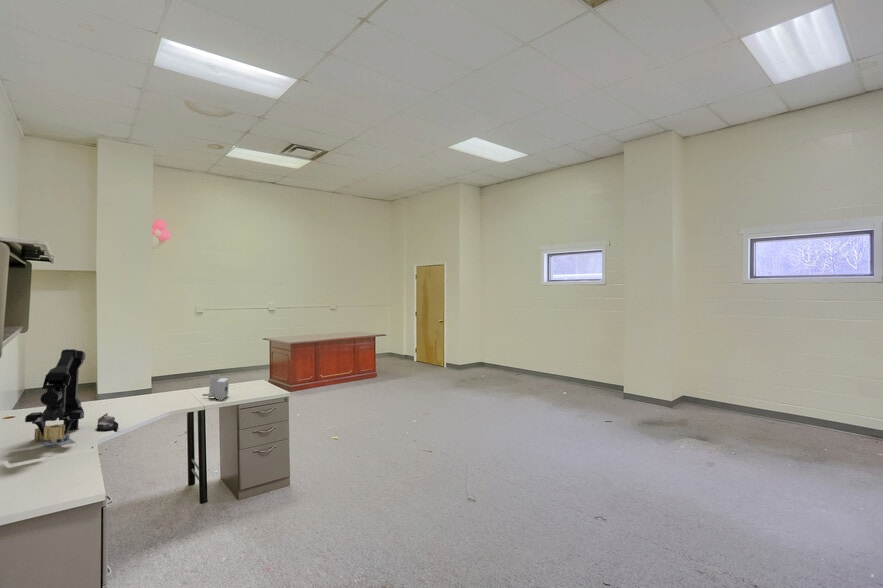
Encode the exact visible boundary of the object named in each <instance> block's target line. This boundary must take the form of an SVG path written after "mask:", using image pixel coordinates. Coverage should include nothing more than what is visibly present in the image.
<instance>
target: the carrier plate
mask: <svg viewBox="0 0 883 588" xmlns="http://www.w3.org/2000/svg"><path fill="white" fill-rule="evenodd" d="M37 443H39V444H41V445H42V446H43V447H44V448H46V449H50V448H55V447H60V446H67V445H72V444H77V442H76V441H74V440H73V439H72V438H71V437H70V438H69V440H65V441H62V442H61V441H60V442H57V439H55V440H52V442H51V441H50V440H45V441H37Z"/></svg>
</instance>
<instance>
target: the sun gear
mask: <svg viewBox="0 0 883 588" xmlns="http://www.w3.org/2000/svg"><path fill="white" fill-rule="evenodd" d="M70 436H71V433H70V432H67V434H66V435H65V437H62V439H57V442H60V441H61V442H62V441H65V440H69V438H70V439H71V437H70ZM50 441H51V442H52V440H50Z"/></svg>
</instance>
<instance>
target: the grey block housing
mask: <svg viewBox="0 0 883 588" xmlns="http://www.w3.org/2000/svg"><path fill="white" fill-rule="evenodd" d="M229 380H230V378H224V377H223V378H220V375H219V374H212V375H210V376H209V389H208V390H209V391H208V393H203V394H202V397H207V396H208V398H209V397H214V398H216V399H224V398H225V397H226V396H227V395H228V396H229V386H230V385H229V384H230V383H229V382H230V381H229ZM228 396H227V397H228ZM227 397H226V398H227ZM214 398H213V399H214ZM226 398H225V399H226ZM216 399H215V400H216ZM225 399H224V400H225Z"/></svg>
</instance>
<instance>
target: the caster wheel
mask: <svg viewBox="0 0 883 588" xmlns="http://www.w3.org/2000/svg"><path fill="white" fill-rule="evenodd" d="M115 420H116V418H115V416H111V415H108V412H107V413H105V414H103V415H102V416H100V417H99V418H97V425H96V428H97V429H96V431H98V432H109V431H110V432H111V431H113V432H117V431H118V430H119V423H118V421H117V422H116V421H115Z"/></svg>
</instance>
